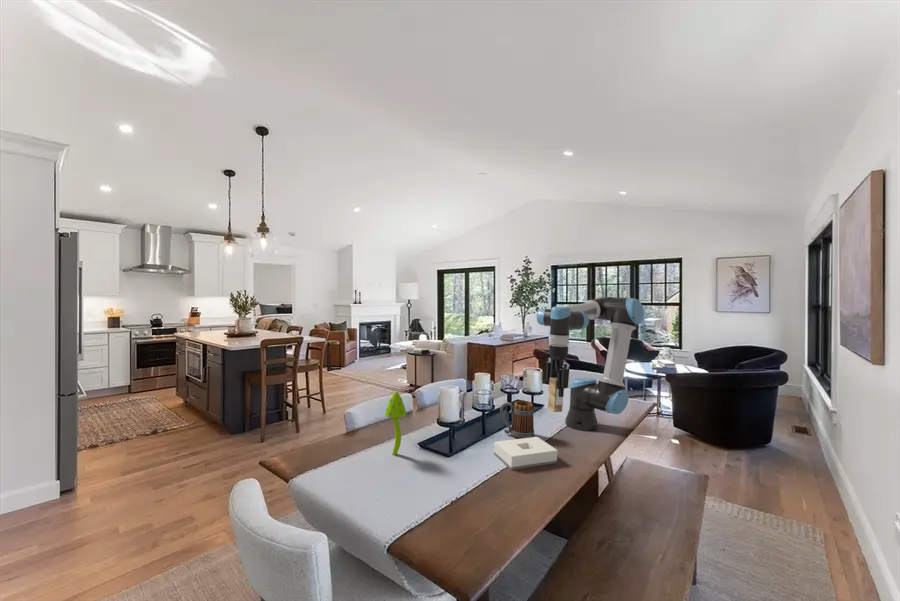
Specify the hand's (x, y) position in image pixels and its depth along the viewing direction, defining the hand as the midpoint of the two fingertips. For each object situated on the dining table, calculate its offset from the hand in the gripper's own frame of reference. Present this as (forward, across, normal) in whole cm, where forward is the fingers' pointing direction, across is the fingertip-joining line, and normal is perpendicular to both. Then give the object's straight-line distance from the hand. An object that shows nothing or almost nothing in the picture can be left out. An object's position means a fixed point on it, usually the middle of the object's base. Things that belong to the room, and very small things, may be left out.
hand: (555, 402), depth 164 cm
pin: (+3, 0, 0) cm, 3 cm away
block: (+21, +1, -13) cm, 25 cm away
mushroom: (+22, -18, -61) cm, 67 cm away
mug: (+21, -21, -4) cm, 30 cm away
